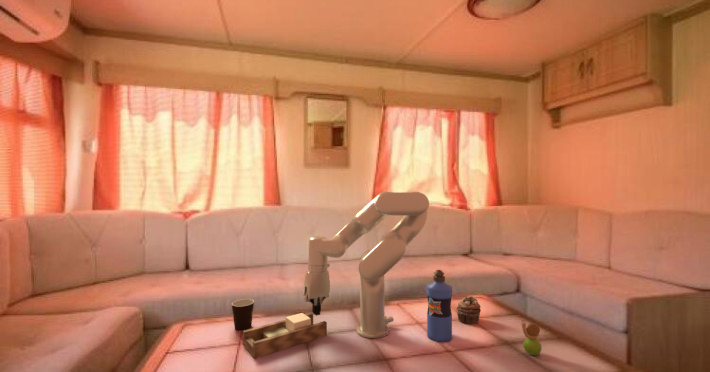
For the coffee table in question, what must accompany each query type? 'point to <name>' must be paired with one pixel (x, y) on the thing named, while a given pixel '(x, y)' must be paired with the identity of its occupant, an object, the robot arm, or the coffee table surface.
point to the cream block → (297, 321)
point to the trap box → (280, 336)
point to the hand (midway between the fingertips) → (316, 314)
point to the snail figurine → (531, 338)
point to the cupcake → (468, 311)
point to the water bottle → (439, 309)
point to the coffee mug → (242, 314)
